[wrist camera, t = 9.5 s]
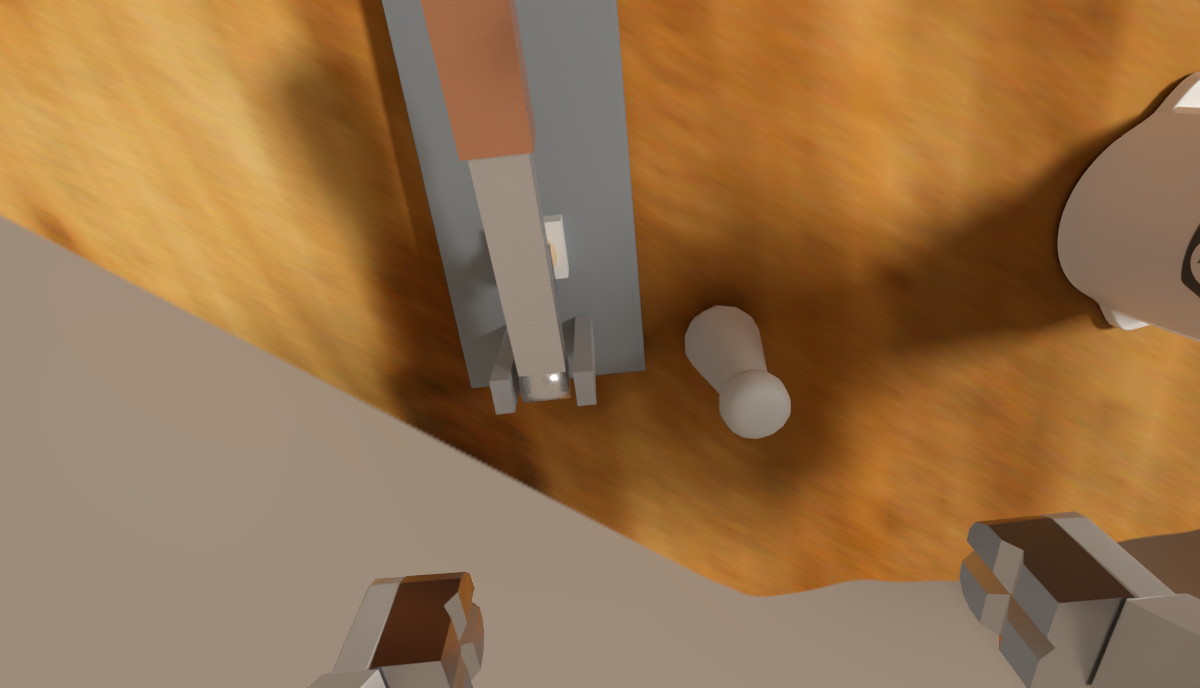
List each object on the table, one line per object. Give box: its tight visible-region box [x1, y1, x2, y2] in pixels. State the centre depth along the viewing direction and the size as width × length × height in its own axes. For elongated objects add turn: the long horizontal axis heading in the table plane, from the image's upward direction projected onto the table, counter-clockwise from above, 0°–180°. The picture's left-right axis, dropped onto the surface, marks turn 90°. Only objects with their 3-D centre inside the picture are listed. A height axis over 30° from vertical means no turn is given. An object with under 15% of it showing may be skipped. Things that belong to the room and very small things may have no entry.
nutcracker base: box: [382, 0, 646, 415], centre depth 36 cm, size 28×14×11 cm, turn 6°
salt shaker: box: [685, 305, 791, 439], centre depth 40 cm, size 6×6×13 cm
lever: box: [420, 0, 571, 403], centre depth 31 cm, size 26×4×4 cm, turn 6°
